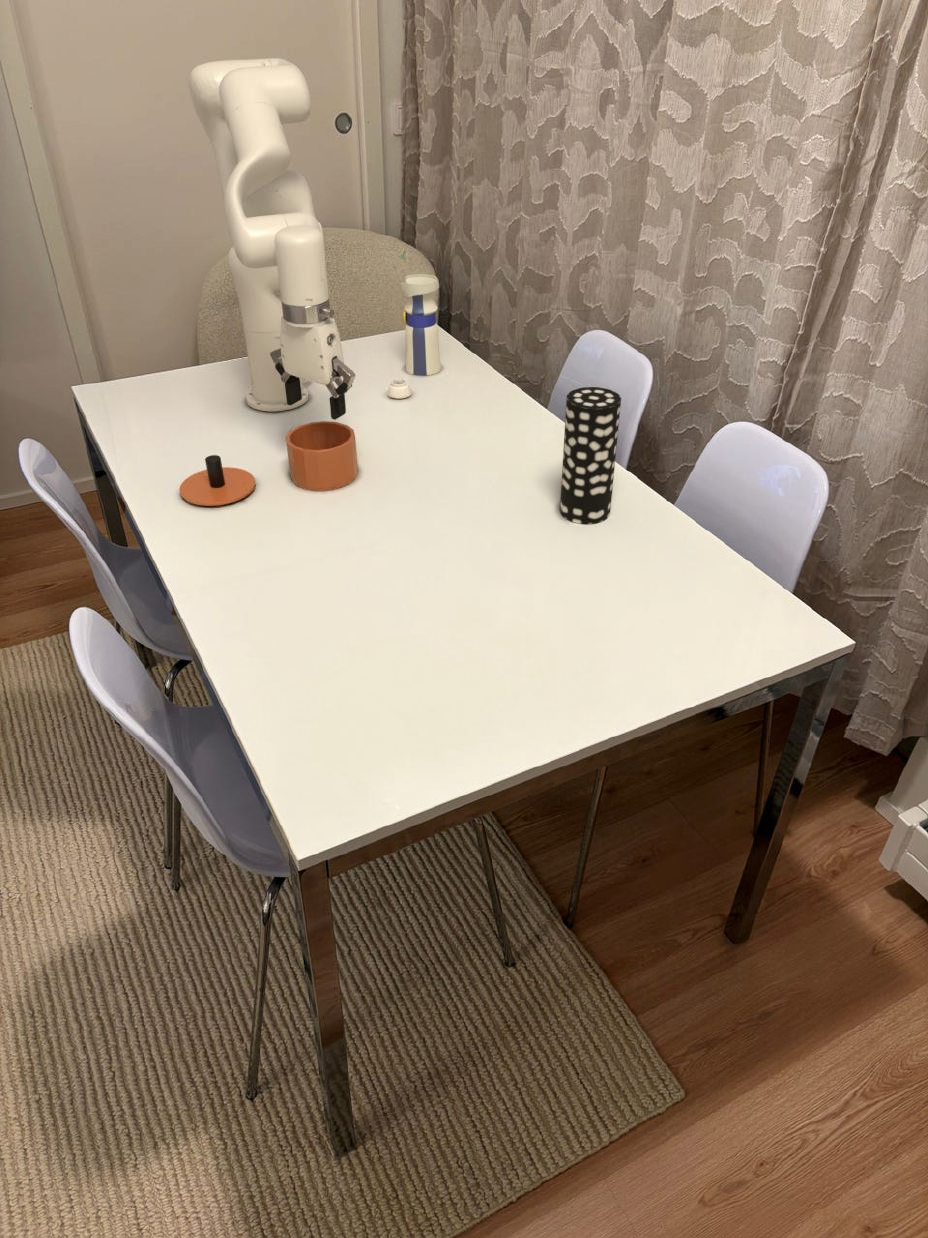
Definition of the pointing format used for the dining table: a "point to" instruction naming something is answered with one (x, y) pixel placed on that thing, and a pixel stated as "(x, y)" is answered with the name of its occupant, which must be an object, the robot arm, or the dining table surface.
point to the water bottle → (420, 323)
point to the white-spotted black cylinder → (589, 454)
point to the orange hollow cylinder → (322, 455)
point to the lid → (217, 484)
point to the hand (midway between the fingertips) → (316, 409)
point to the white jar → (399, 389)
